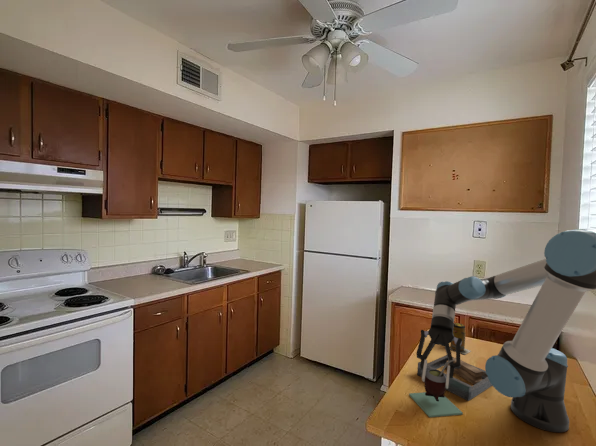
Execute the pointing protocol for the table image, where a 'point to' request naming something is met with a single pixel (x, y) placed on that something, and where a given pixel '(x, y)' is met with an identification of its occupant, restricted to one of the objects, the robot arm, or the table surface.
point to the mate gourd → (436, 382)
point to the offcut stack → (468, 372)
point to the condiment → (459, 333)
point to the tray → (457, 385)
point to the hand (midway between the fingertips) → (434, 383)
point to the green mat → (435, 405)
